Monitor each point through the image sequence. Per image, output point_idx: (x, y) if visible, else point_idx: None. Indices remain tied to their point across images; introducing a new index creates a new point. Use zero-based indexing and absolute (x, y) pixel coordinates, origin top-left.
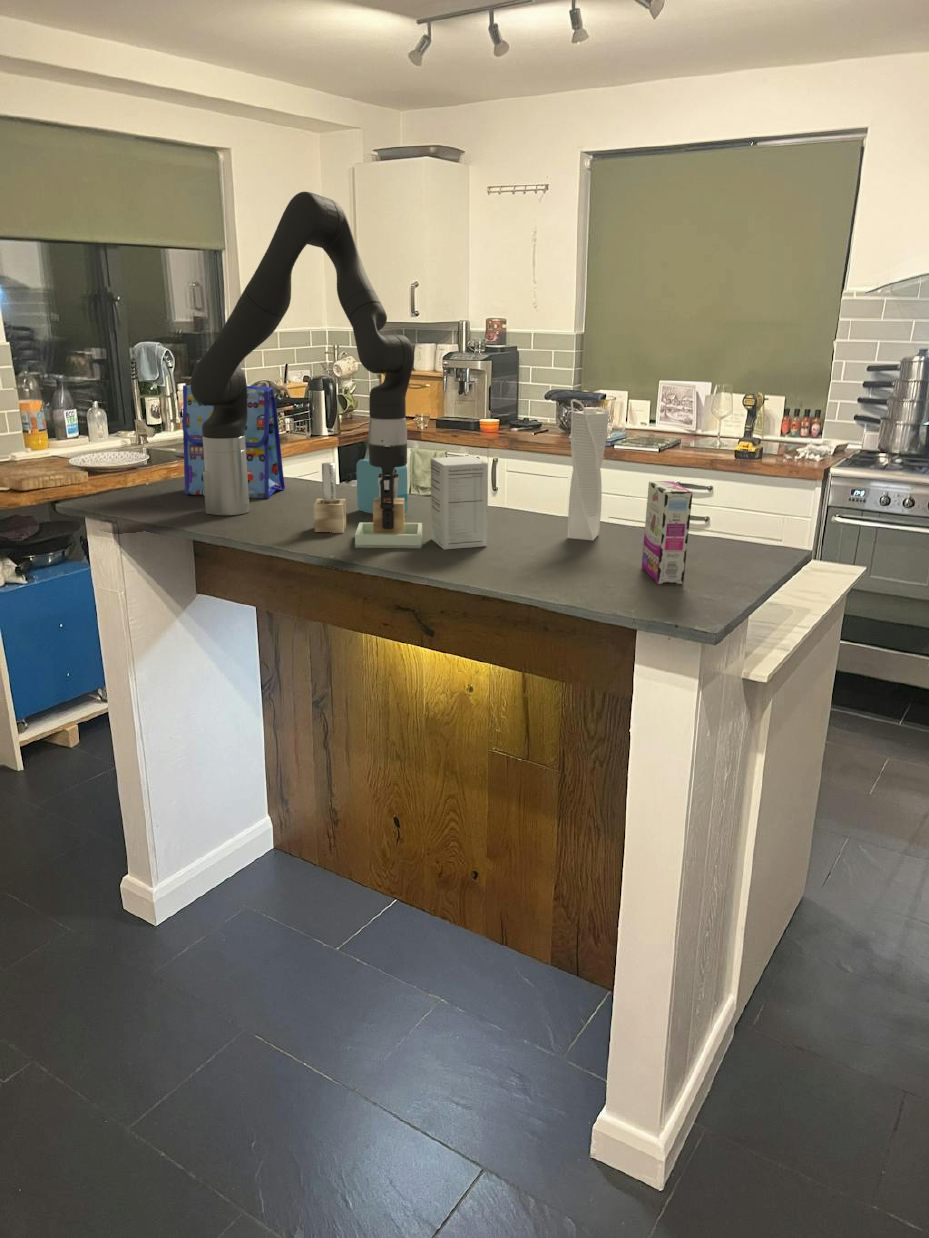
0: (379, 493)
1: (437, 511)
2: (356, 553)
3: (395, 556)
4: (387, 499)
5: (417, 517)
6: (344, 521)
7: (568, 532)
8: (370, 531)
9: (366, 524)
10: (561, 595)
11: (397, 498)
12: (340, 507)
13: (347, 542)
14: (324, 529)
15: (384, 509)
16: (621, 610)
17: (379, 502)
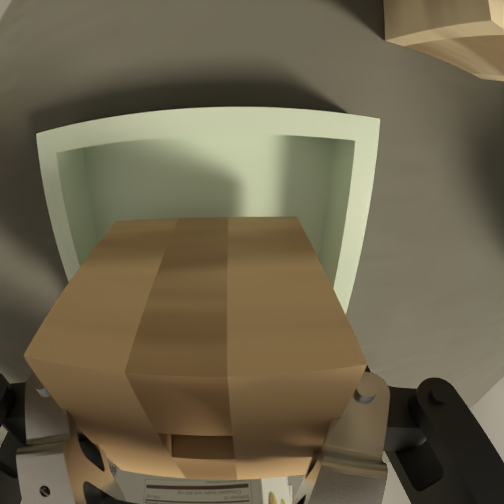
0: (21, 476)
1: (166, 483)
2: (8, 153)
3: (19, 288)
4: (256, 442)
5: (501, 307)
6: (463, 57)
7: None
8: (332, 174)
9: (350, 161)
10: (4, 428)
11: (293, 464)
12: (476, 8)
13: (178, 59)
14: None
15: (22, 385)
16: (3, 439)
17: (100, 405)
